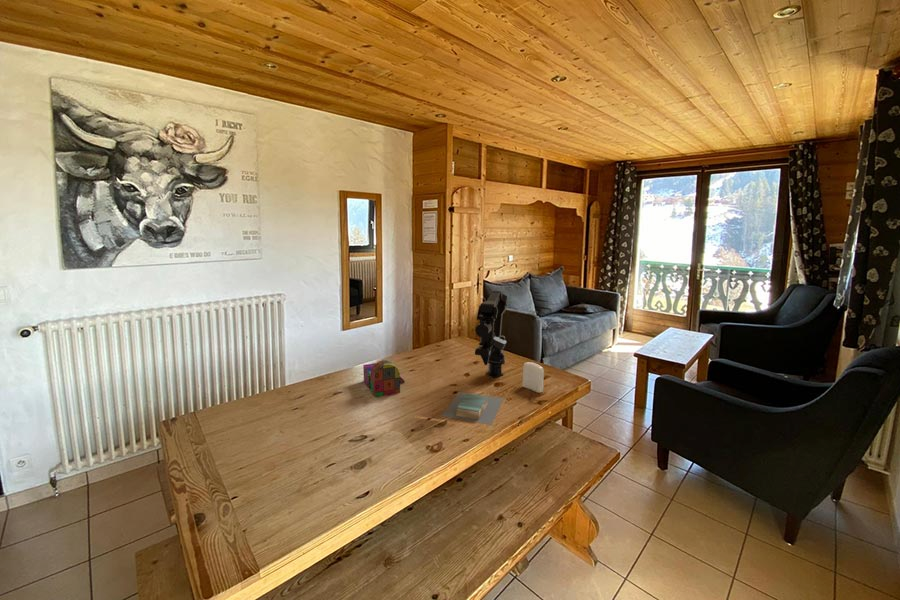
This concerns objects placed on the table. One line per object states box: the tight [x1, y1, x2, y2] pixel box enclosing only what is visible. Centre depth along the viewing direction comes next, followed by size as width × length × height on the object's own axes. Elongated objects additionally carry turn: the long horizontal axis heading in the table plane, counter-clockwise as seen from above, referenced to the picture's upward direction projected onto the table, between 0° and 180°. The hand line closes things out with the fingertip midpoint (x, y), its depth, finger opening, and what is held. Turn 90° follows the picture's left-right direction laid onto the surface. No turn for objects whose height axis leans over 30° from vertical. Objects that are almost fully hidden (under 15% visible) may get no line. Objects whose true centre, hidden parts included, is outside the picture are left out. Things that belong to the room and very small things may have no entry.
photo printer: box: [522, 361, 545, 394], centre depth 185 cm, size 10×4×12 cm, turn 39°
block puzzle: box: [362, 359, 406, 398], centre depth 189 cm, size 25×17×14 cm
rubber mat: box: [441, 391, 504, 426], centre depth 166 cm, size 24×20×1 cm
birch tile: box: [456, 393, 487, 419], centre depth 163 cm, size 3×9×14 cm
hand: (486, 364), depth 183 cm, fingers closed
